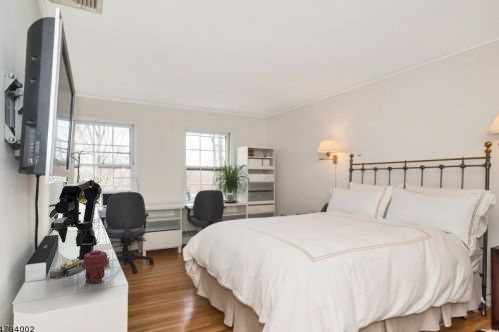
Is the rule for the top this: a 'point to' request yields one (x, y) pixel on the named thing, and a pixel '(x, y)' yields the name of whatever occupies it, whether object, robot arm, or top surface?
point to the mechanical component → (95, 265)
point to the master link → (69, 265)
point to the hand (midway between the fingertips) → (71, 243)
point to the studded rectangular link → (61, 272)
